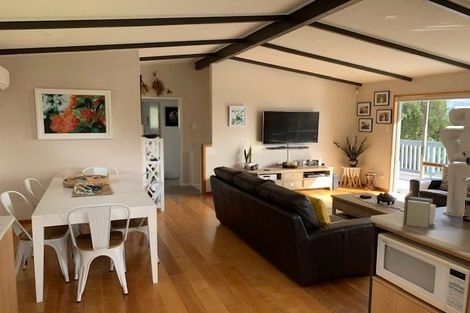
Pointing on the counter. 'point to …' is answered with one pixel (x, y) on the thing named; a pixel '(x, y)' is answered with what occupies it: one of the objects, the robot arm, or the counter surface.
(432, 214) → the white cup
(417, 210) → the book row
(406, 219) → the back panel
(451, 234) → the counter surface
